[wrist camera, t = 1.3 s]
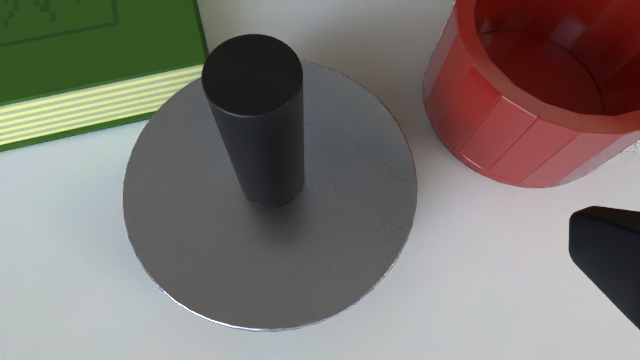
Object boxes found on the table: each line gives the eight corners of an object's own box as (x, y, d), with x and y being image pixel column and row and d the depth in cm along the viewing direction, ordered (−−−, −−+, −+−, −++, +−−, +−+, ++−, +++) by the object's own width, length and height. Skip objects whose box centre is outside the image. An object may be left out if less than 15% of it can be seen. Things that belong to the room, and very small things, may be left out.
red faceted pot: (652, 126, 24) (755, 57, 19) (512, 226, 22) (583, 182, 16) (519, 1, 28) (572, -87, 22) (384, 76, 25) (406, -4, 19)
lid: (471, 223, 18) (580, 135, 11) (214, 401, 16) (130, 442, 8) (314, 30, 22) (318, -130, 15) (84, 144, 19) (-51, 15, 12)
